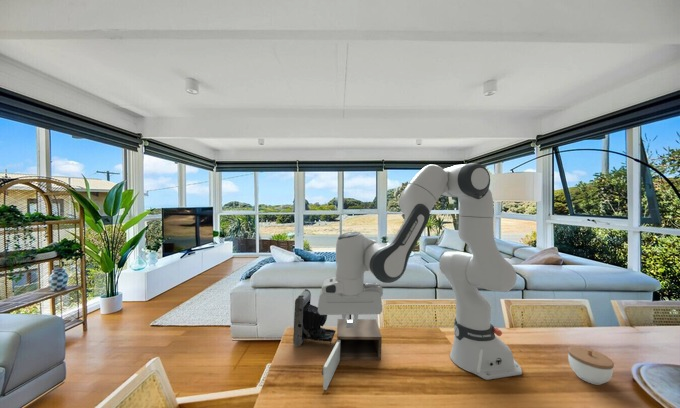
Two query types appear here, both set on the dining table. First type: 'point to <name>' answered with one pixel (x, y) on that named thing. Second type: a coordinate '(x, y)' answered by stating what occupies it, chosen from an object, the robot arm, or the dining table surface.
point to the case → (359, 340)
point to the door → (331, 365)
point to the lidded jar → (590, 365)
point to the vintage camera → (309, 321)
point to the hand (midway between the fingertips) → (350, 326)
